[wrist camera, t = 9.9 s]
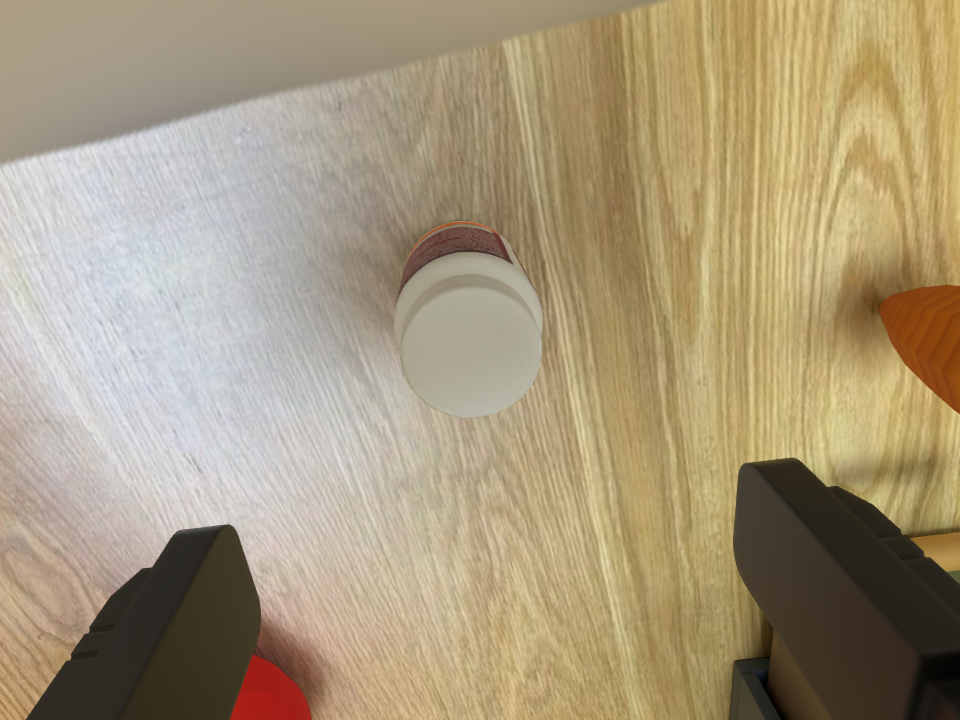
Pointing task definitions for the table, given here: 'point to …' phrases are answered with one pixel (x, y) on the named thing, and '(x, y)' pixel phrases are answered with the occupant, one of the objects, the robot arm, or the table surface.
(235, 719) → the tomato
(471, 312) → the pill bottle
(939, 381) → the carrot
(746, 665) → the cabinet
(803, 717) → the drawer
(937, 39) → the table surface
